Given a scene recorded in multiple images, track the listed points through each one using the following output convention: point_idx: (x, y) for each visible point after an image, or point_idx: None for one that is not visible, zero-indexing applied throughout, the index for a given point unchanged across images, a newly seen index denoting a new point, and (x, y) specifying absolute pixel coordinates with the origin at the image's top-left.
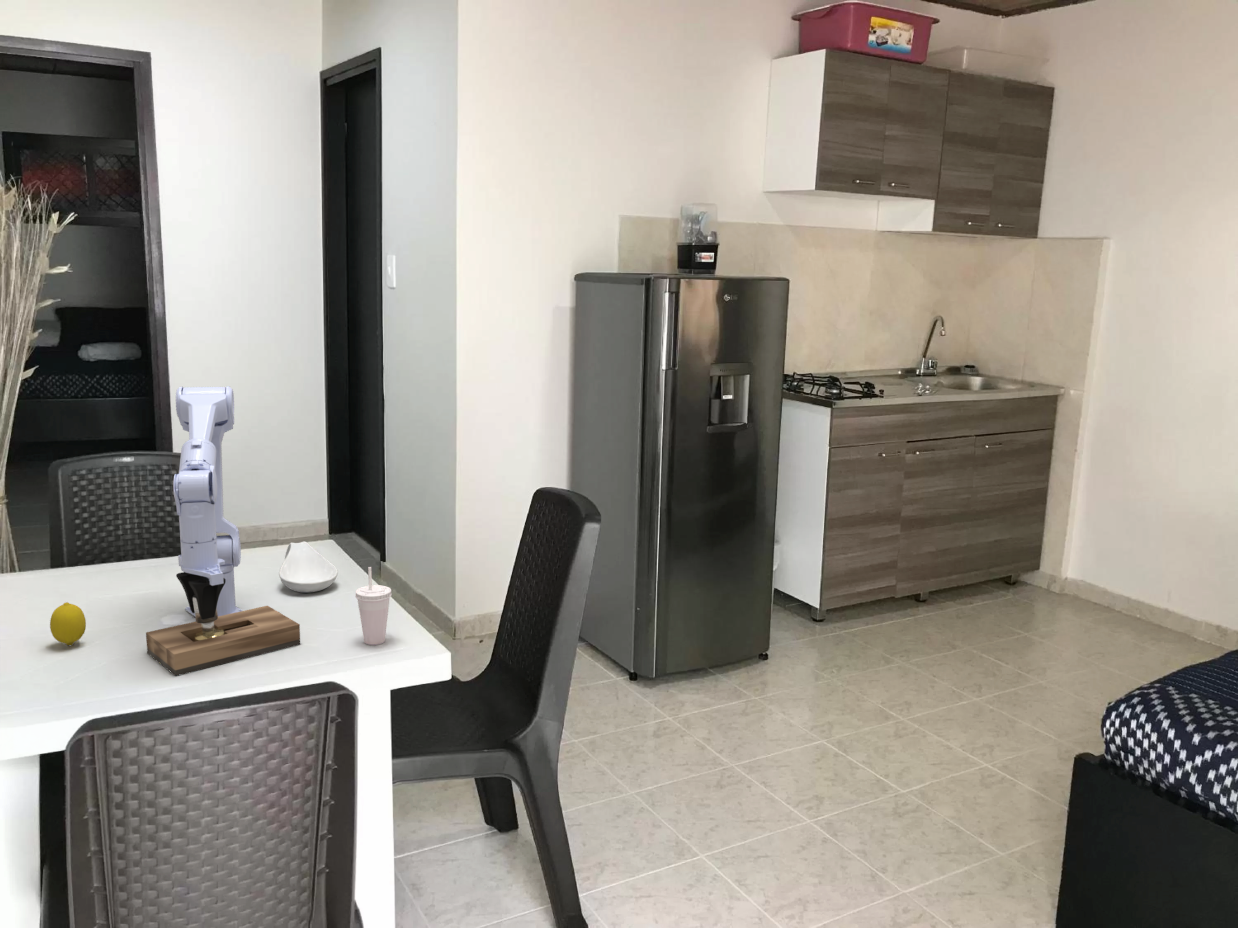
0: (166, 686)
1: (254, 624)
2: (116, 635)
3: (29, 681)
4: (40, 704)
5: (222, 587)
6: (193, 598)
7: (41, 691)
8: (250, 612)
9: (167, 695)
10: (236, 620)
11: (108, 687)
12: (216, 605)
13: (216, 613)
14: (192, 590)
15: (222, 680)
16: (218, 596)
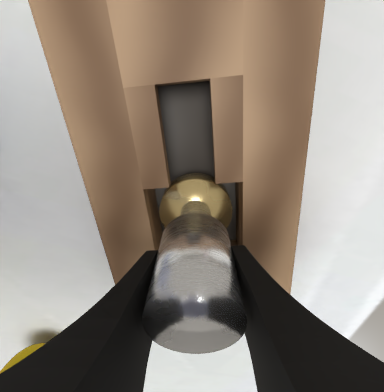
0: (303, 290)
1: (214, 81)
2: (26, 292)
3: (166, 385)
4: (246, 389)
5: (372, 356)
6: (197, 352)
7: (206, 383)
8: (76, 45)
9: (339, 297)
10: (140, 122)
11: (246, 339)
12: (266, 271)
13: (220, 232)
14: (137, 366)
15: (356, 219)
16: (301, 305)
